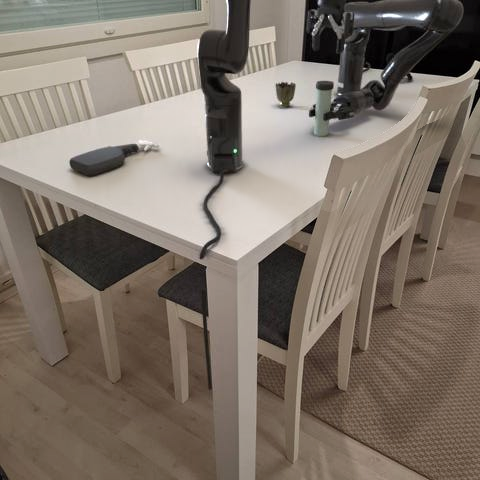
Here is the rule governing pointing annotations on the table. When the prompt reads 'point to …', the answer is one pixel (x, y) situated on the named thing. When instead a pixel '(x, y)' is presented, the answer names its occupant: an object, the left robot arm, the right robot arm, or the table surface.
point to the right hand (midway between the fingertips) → (317, 115)
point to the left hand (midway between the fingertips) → (327, 51)
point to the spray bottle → (106, 157)
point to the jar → (322, 112)
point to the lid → (324, 85)
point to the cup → (285, 93)
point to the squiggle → (390, 60)
